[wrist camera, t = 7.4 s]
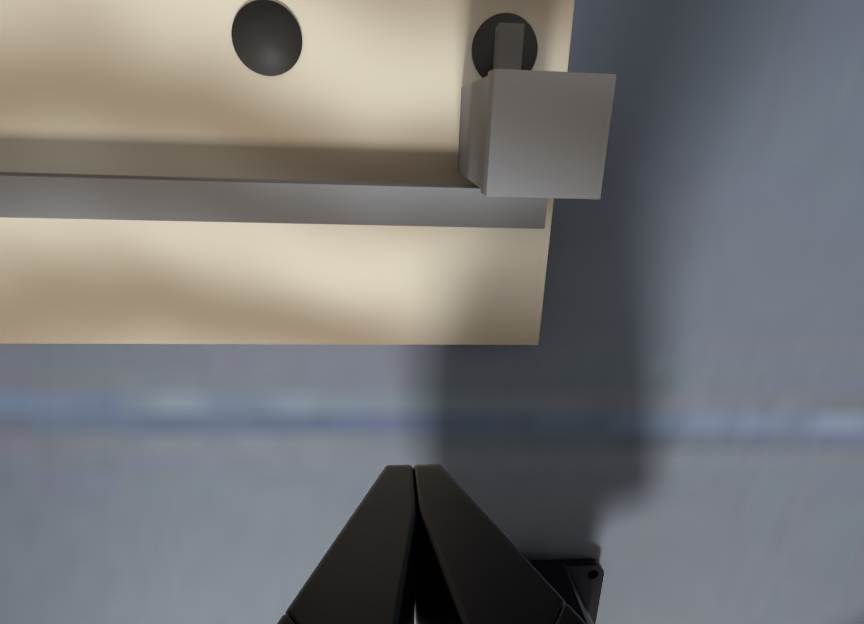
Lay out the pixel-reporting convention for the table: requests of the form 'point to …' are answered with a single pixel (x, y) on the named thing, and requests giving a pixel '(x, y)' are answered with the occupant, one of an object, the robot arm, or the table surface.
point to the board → (288, 169)
